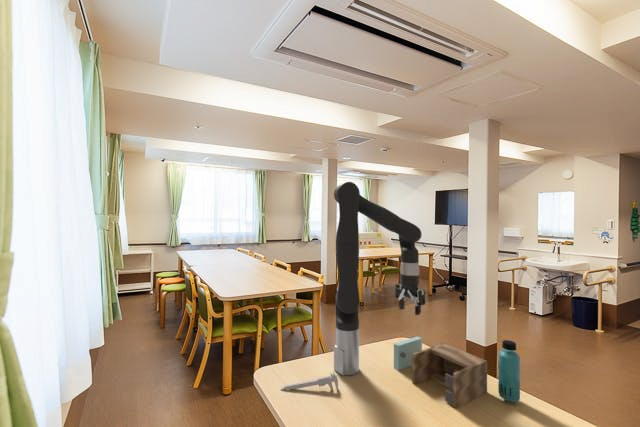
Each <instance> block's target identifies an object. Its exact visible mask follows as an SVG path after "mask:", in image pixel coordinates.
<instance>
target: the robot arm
mask: <svg viewBox="0 0 640 427" xmlns="http://www.w3.org/2000/svg"><path fill="white" fill-rule="evenodd" d="M333 198H334V200H335V201H336V203H337V204H338V208H339V210H338V212H339V217H338V218H339V220H338V223H337V224H338V226H337V228H336V236H335V258H336V266H337V273H338V286H337V287H338V288H337V289H338V290H337V291H336V292H335V345H334V346H333V370H334V371H335V372H337V373H339V375H341V376H355V375H357V374H358V373H359V371H360V354H359V353H360V319H359V306H360V303H361V302H360V300H361V299H360V292H359V283H358V282H359V281H358V275H359V274H358V271H359V263H360V262H359V259H360V240H359V239H360V237H359V233H360V232H359V214H362V215H363V216H365V217H367V218H368V219H370V220H371V221H373V222H375V223H376V224H377V225H379V226H381V227H383V228H384V229H386V230H387V231H388V232H391V233H395V234H397V235H398V241H399V247H400V261H401V262H400V274H399V277H400V281H399V282H400V283H395V289H394V290H395V292H394V294H395V295H394V297H395V299H397V300H398V308H399V310H405V298H408V299H411V301H412V302H413V303H414V305H415V306H414V314H415V316H419V315H420V314H421V313H422V312H421V311H422V310H421V309H422V306H424V305H426V292H425V290H424V289H419V286H420V264H419V262H420V261H419V259H420V258H419V255H420V254H419V250H418V248H417V247H416V242H419V241H420V240H421V238H422V231H421V229H420V228H419V226H417V225H416V224H414V223H412V222H410V221H408V220H406V219H403V218H402V217H400V216H399V215H397V214H395V213H394V212H392V211H391V210H389V209H387V208H385V207H384V206H381V205H378V203H374V202H372V200H371V201H370V200H368V199H367V198H365V197H364V196H362V195H361V193H360V189H359V186H358V185H356V183H354V182H352V181H345V182H343V183H340V184H338V185H337V186H336V187H335V188H334V192H333Z"/></svg>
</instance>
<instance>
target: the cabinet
mask: <svg viewBox="0 0 640 427" xmlns="http://www.w3.org/2000/svg"><path fill="white" fill-rule="evenodd" d="M411 367H412V368H411V369H412V373H411V374H412V384H413V385H417V384H419V383H422V382H424V381H427V380H429V379H432V380H433V381H436V382H438V383H439V384H441V385H442V386H444V387H447V388H448V389H450V390H448V389H445V390H444V401H445V402H446V403H448V404H450V405H451V406H452V407H453V408H454V409H458V408H460V407H461V406H463V405H465V404H467V403H469V402H472V401H473V400H475V399H477V398H479V397H481V396H482V395H485V394H486V393H487V392H488V360H485V359H483V358H482V357H478V356H477V355H473V354H471V353H469V352H466V351H464V350H461V349H459V348H456V347H453V346H451V345H448V344H446V343H440V344H437V345H434V346H432V347H431V346H430V347H428V348H425V349H422V351H419V352H416V353H413V354H412V366H411ZM451 390H452V391H451Z"/></svg>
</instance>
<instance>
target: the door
mask: <svg viewBox="0 0 640 427" xmlns="http://www.w3.org/2000/svg"><path fill="white" fill-rule="evenodd" d="M422 350H423V338H422V337H420V336H415V337H411V338H409V339H408V338H407V339H404V340H402V341H398V342H395V343H393V368H394V369H395V370H397V371H400V370H404V369H407V368H409V367H412V354H413V353H416V352H419V351H422Z"/></svg>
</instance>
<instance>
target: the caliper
mask: <svg viewBox="0 0 640 427" xmlns="http://www.w3.org/2000/svg"><path fill="white" fill-rule="evenodd" d="M329 374H330V375H327V376H323V377H318V378H316V379H313V380H308V381H302V382H301V381H300V382H296V383H291V384H286V385H284V386H283V387H281V388H282V389H293V390H296V389H302V388H308V387H314V386H319V387H325V386H326V385H328V387H329V389H330V390H331V391H334V388H333V383H334V385H335V389H336V391H338V390H339V379H338V376H337V375H336V374H335V372H333V373H332V372H330V373H329Z"/></svg>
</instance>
